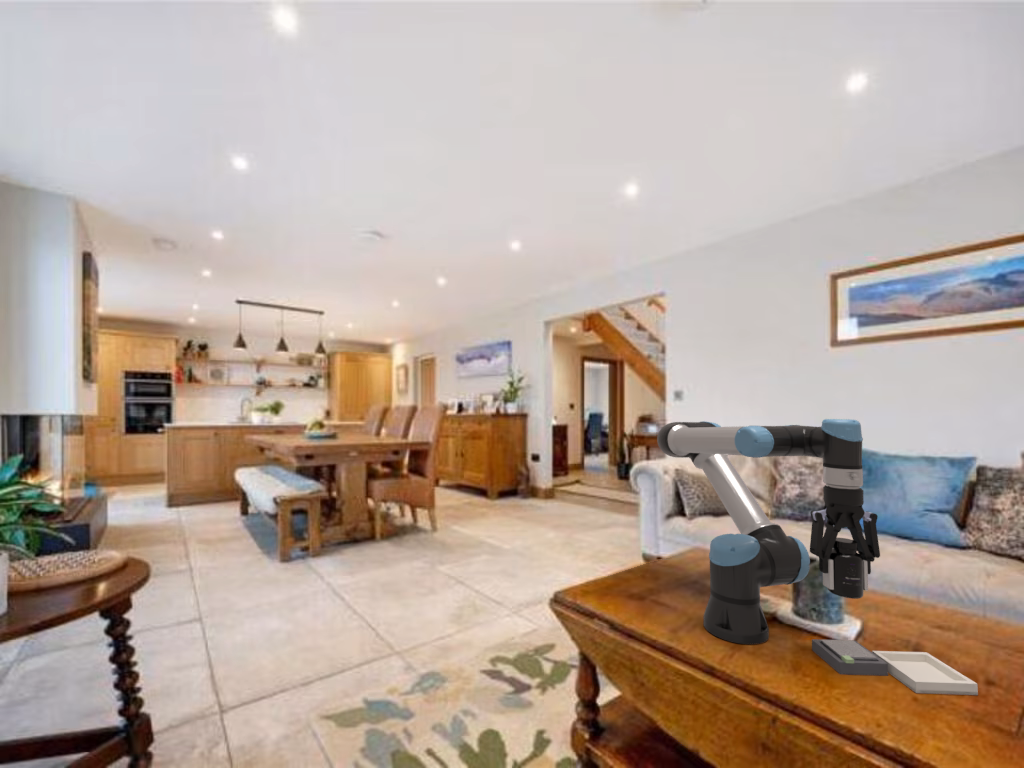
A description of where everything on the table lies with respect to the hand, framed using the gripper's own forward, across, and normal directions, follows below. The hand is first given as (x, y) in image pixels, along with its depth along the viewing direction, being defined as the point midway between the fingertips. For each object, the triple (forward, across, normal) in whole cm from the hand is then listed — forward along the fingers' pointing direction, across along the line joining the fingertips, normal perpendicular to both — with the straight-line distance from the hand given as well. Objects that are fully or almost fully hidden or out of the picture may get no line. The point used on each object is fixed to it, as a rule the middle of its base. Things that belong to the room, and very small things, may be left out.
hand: (845, 587), depth 105 cm
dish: (+16, +12, -5) cm, 21 cm away
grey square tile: (+15, 0, 0) cm, 15 cm away
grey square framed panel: (+17, 0, 0) cm, 17 cm away
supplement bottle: (+2, 0, 0) cm, 2 cm away
